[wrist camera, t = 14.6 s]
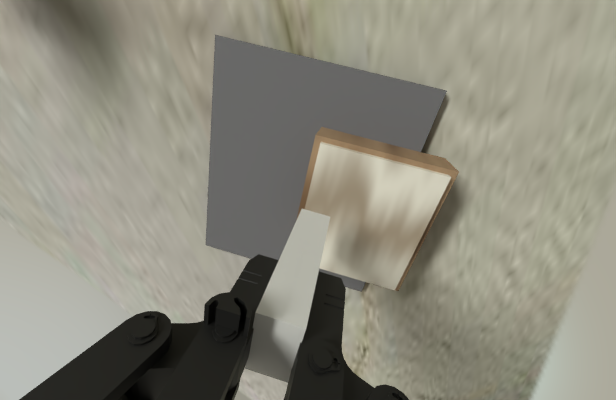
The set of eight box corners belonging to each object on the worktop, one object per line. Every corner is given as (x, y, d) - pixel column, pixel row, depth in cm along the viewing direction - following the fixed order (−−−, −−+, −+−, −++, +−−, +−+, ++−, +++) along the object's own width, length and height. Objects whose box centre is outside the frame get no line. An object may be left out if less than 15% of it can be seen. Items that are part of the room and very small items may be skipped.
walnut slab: (314, 136, 14) (461, 174, 14) (321, 126, 17) (445, 158, 16) (286, 262, 18) (399, 295, 18) (295, 238, 21) (393, 266, 21)
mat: (220, 36, 16) (215, 34, 16) (443, 90, 15) (446, 90, 15) (209, 241, 24) (205, 244, 23) (361, 286, 23) (361, 291, 22)
